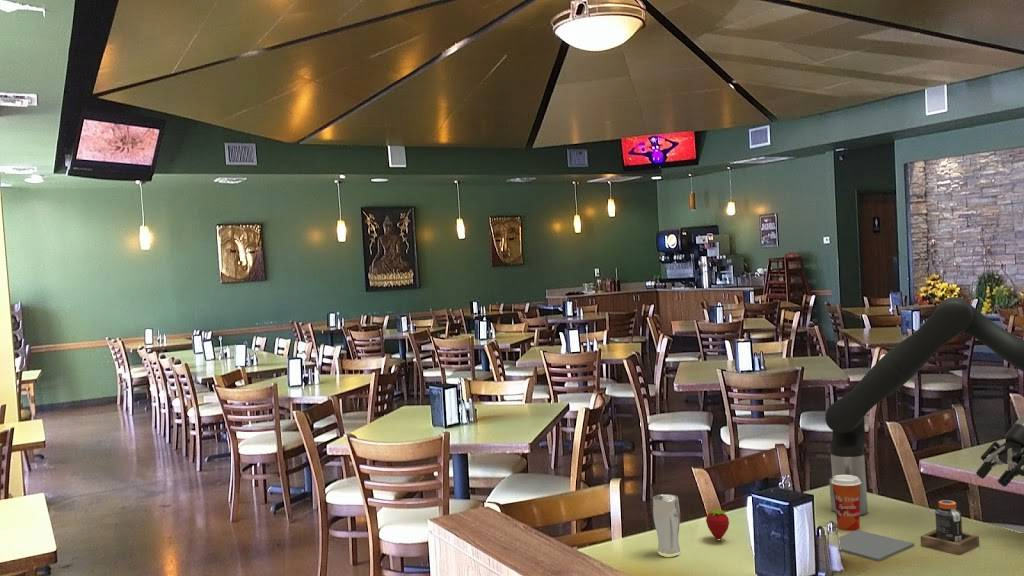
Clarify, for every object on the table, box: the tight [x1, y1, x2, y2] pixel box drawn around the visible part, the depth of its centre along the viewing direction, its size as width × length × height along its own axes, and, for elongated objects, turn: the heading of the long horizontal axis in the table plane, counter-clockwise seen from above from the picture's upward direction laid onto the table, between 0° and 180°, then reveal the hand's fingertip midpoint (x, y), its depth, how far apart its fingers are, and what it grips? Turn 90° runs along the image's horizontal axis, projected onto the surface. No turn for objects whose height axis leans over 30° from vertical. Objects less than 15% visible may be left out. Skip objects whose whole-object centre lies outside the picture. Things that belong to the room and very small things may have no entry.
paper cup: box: [831, 475, 861, 531], centre depth 228 cm, size 8×8×14 cm
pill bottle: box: [934, 499, 963, 543], centre depth 209 cm, size 6×6×11 cm
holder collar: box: [920, 529, 980, 556], centre depth 209 cm, size 10×10×2 cm
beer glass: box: [652, 493, 681, 554], centre depth 216 cm, size 7×7×15 cm
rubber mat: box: [839, 529, 915, 562], centre depth 212 cm, size 16×16×1 cm
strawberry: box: [705, 503, 730, 540], centre depth 224 cm, size 6×8×10 cm
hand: (989, 480), depth 209 cm, fingers open, 8 cm apart
